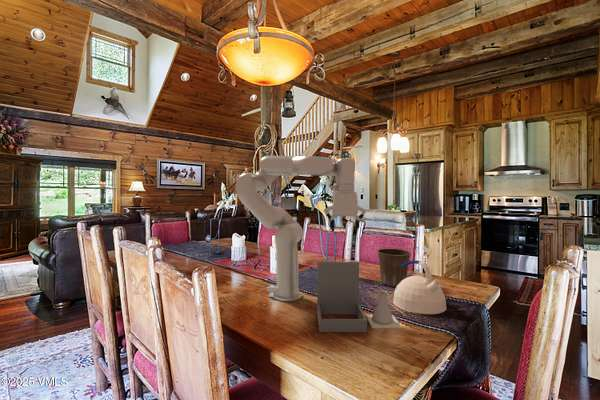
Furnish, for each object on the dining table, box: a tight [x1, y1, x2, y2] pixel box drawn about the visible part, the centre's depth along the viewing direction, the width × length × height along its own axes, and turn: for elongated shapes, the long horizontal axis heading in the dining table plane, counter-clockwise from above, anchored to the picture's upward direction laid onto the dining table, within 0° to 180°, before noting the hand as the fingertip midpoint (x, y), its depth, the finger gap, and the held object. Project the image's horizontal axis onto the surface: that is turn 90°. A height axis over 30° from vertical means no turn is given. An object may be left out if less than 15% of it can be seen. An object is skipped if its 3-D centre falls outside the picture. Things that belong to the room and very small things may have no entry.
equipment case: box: [316, 261, 368, 333], centre depth 110 cm, size 16×16×20 cm
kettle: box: [392, 260, 447, 315], centre depth 126 cm, size 20×21×18 cm
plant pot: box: [376, 248, 412, 288], centre depth 155 cm, size 16×16×16 cm
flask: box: [371, 290, 394, 324], centre depth 109 cm, size 7×7×10 cm
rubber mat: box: [365, 314, 403, 330], centre depth 109 cm, size 10×10×1 cm
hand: (344, 230), depth 128 cm, fingers open, 9 cm apart
